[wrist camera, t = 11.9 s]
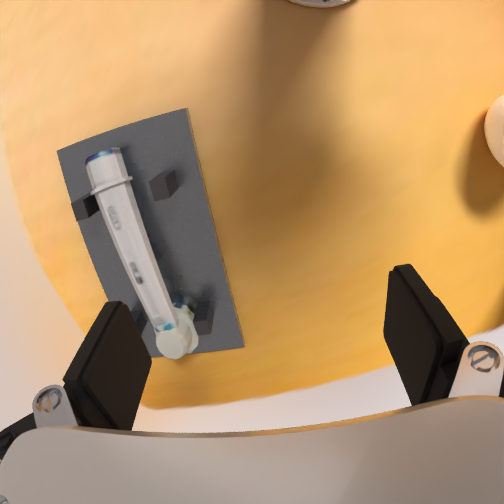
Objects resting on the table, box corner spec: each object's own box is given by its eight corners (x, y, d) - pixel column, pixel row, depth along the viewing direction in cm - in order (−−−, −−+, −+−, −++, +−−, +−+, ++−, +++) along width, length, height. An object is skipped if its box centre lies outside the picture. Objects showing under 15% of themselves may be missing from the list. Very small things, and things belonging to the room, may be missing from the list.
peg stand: (61, 149, 32) (37, 156, 27) (187, 108, 31) (176, 107, 26) (137, 353, 44) (128, 377, 40) (244, 342, 43) (244, 367, 38)
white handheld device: (113, 144, 27) (199, 369, 34) (138, 145, 34) (208, 338, 40) (71, 164, 28) (158, 376, 35) (101, 161, 34) (172, 346, 41)
